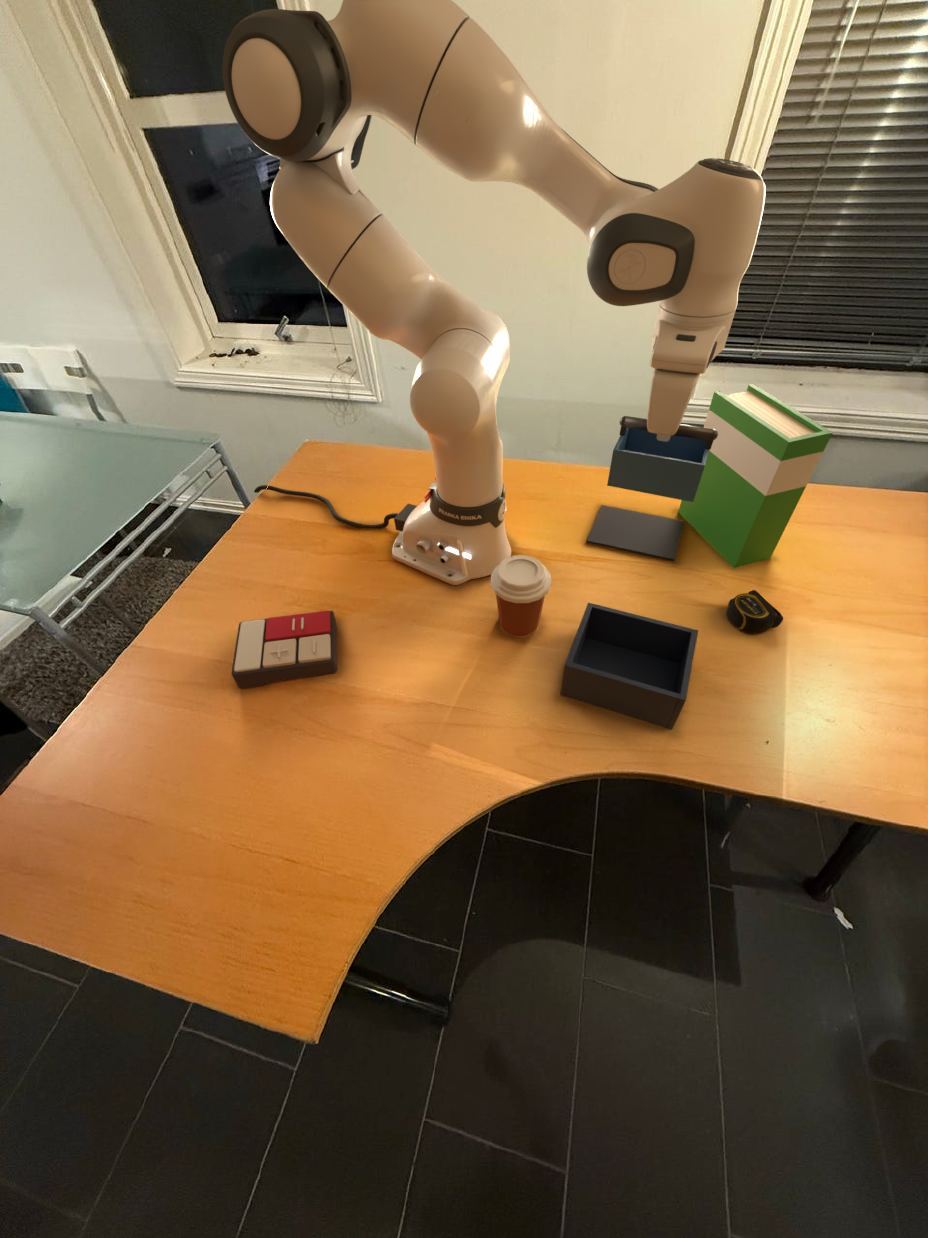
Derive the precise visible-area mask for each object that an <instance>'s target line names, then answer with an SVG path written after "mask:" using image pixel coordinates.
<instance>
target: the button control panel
mask: <svg viewBox="0 0 928 1238" xmlns="http://www.w3.org/2000/svg"><path fill="white" fill-rule="evenodd" d="M337 630H338V629H337V620H336V616H335V613H334V611H333V610H320V611H312V612H311V611H310V612H305V613H295V614H289V615H281V616H280V615H279V616H272V617H268V618H260V619H253V620H252V619H251V620H245V621H240V622H239V623H238V627H237V633H236V634H237V635H236V642H235V647H234V654H233V655H234V656H233V660H232V667H231V676H232V678H233V680H234V682H235V685H236V686H237V687H238V689H239V690H240V689H250V688H256V687H262V686H265V685H266V684H269V683H274V682H281V681H286V680H288V681H289V680H295V679H303V678H308V677H310V678H311V677H316V676H323V675H330V674H336V673H337V672H338V635H337V634H338V631H337Z"/></svg>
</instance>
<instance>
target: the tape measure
mask: <svg viewBox="0 0 928 1238" xmlns="http://www.w3.org/2000/svg"><path fill="white" fill-rule="evenodd" d="M725 614H726V617H727V620H728V622H729V623H730V624H731V625H732V626H733V627H734V628H736V629H737V630H739V631H741V632H743V633H746V634H751V635H758V634H763V633H765V632H767V631H768V630H770V629H775V628H778V627H779V626H780V625H782V623H783V622H784V621H783V620H784V616H783V614H782V613H781V612H780V611H779V610H778V609H776V607H774V606H773V605H772V604H771V603H770V602H769V601H768V600H766V598H764V597H763V595H761V593H760V592H759V591H757V590H756V589H752V590H749V591H748V592H743V593H739V594H737V595H736V596H734V597H732V598H730V599H729V601H728V607H727V609H726V613H725Z"/></svg>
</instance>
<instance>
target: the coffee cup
mask: <svg viewBox="0 0 928 1238" xmlns="http://www.w3.org/2000/svg"><path fill="white" fill-rule="evenodd" d="M551 576H552V575H551V573H550V572H549V570H548V568H546V566H545V565H544V564H543V563H542V562H541V561H540V559H537V558H535V557H534V556H529V555H526V554H515V555H511V557H508V558H506V559H505V560H503V561H502V562H501V563H500V565H499V566H497V567H496V568H495V569H494V571H493V573H492V574H491V575H490V588H491V589H492V590H493V592H494V594H495V597H496V603H497V604H496V605H497V614H498V623H499V627H500V628H501V630H502V631H503V632H504V633H506V634H507V635H509V636H511V637H514V638H524V637H528V636H531V635H532V634H534V633H535V632H537V629H538V628H539V625H540V622H541V621H540V620H541V618H542V617H541V616H542V612H543V611H542V610H543V606H544V601H545V598H546V597H545V596H546V595H547V594H548V593H549V591H550V589H551V588H552V587H551V586H552V577H551Z"/></svg>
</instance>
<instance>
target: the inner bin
mask: <svg viewBox="0 0 928 1238" xmlns="http://www.w3.org/2000/svg"><path fill="white" fill-rule="evenodd" d="M619 425H620V430H619V437H618V440H617V441H616V442H615V443H616V444H615V445H614V447H613V449H612V455H611V461H610V466H609V472H608V476H607V477H608V478H607V483H606V486H608V487H612V488H617V489H623V490H628V491H633V492H639V493H643V494H649V495H653V496H659V497H663V498H670V499H674V500H679V501H682V500H684V501H689V502H694V498H695V495H696V492H697V489H698V486H699V483H700V480H701V477H702V474H703V471H704V468H705V464H706V460H707V457H708V453H709V450H710V449H711V447H712V444H713V440H715V439H716V438H717V436H718V432H717V431H716V430H715V429H710V428H704V426H703V427H702V426H697V425H696V426H695V425H689V424H683V423H680V425H679V428H678V430H677V432H676V433H675V434H674V435H672V436H671V437H670V440H669V441H667V442H664V441H658V440H657V434H655V433H651V432H649V431H648V429H647V418H643V417H636V416H630V415H623V416H622V417H621V418H620V419H619Z"/></svg>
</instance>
